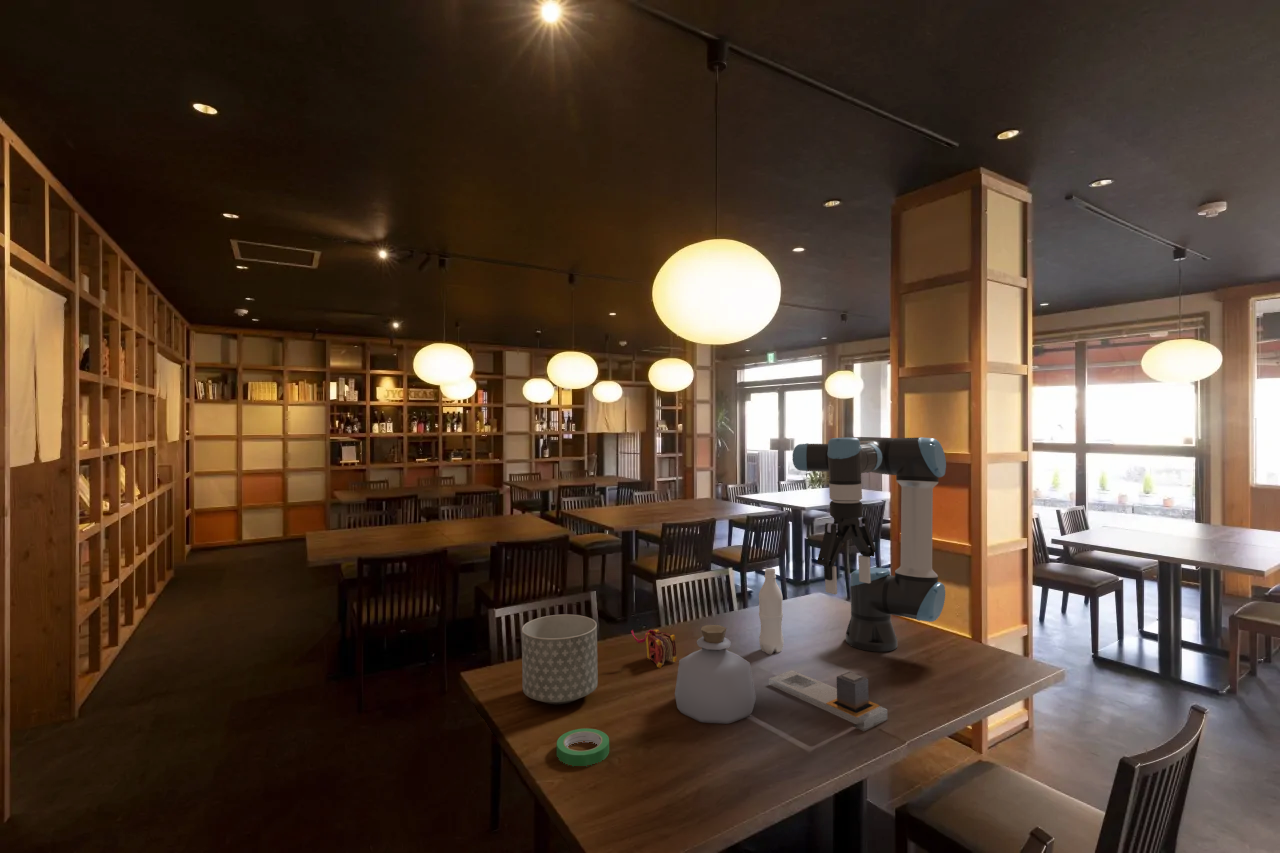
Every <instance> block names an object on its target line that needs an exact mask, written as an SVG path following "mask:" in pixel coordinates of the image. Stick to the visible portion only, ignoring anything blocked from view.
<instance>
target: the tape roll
mask: <svg viewBox="0 0 1280 853" xmlns="http://www.w3.org/2000/svg"><path fill="white" fill-rule="evenodd" d="M583 741H585V742H583ZM578 742H582V743H589V742H593V743H592V744H594V743H595V744H594V745H596V744H597V745H596V746H595V747H593V748H590V749H586V750H576V749H572V748H570V747H568V746H569V745H571V744H574V743H577V744H579V743H578ZM574 745H575V744H574ZM571 746H572V745H571ZM609 753H610V737H609V736H608V735H607V733H605V732H603V731H602V730H599V729H595V728H586V727H585V728H578V729H577V728H576V729H572V730H569V731H567V732H565V733H563V734H561V736H559V737H558V738H557V740H556V757H558V758H559V759H558V758H557V759H558V761H560V762H561V761H562V762H563V763H562V762H561V763H562V764H564V763H565V764H564V765H566V764H568V765H567V766H569V765H572V766H571V767H574V766H586V767H588V766H587V765H591V766H593V765H592V764H595V763H597V764H599V763H601V762H602V760H603V761H604V760H605V759H606V758H608V755H609ZM598 762H599V763H598ZM595 765H596V764H595Z"/></svg>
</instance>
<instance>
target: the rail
mask: <svg viewBox="0 0 1280 853" xmlns="http://www.w3.org/2000/svg"><path fill="white" fill-rule="evenodd" d="M768 685H769V686H770V687H773V688H776V689H778V690H780V691H781V692H784V693H786V694H788V695H791V696H792V697H795V698H797V699H799V700H802V701H804V702H806V703H808V704H810V705H813V706H815V707H817V708H819V709H822V710H824V711H826V712H827V713H830V714H832V715H834V716H837V717H838V718H841V719H843V720H845V721H848V722H850V723H851V724H854V725H853V726H852V727H854V728H856V729H858V730H860V731H862V732H865V731H868V730H870V729H872V728H874V727H876V726H878V725H880V724H882V723H884V722H885V721H887V720H888V709H887V708H885V707H884V706H880V704H878V703H875V702H873V701H871V700H869V708H867V709H865V710H862V711H860V712H858V713H855V712H852V711H850V710H848V709H845V708H843V707H841V706H839V705H837V687H834V686H832V685H829V684H827V683H824V682H822V681H820V680H817V679H815V678H814V677H813V678H812V677H810V676H807V675H805V674H802V673H800V672H797V671H795V670H793V669H791V670H788V671H785V672H783V673H781V674H777V675H775V676H772V677H769V678H768Z"/></svg>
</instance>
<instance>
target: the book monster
mask: <svg viewBox="0 0 1280 853" xmlns="http://www.w3.org/2000/svg"><path fill="white" fill-rule="evenodd" d="M630 632H631V635H632V636H633V637H634V640H635V641H636V642H637V643H638V644H640V643H641V644H642V643H644V642H645V644H646V655H647V656H646V657H647V658H649V659H651V660H650V661H653V663H654V664H656V667H657V668H659V669H661V668H662V666H664V664H665V662H669V661H672V662H673V663H674V662H675V663H676V662H677V660H678V659H677V658H678V657H677V648H676V634H670V633H668V632H666V631H665V632H664V631H660V630H659V629H649V630H648V631H647V632H645V636H644V638H641V639H638V638H637V637H636V636H635V633H634V629H632V630H630Z"/></svg>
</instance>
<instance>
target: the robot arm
mask: <svg viewBox="0 0 1280 853" xmlns="http://www.w3.org/2000/svg"><path fill="white" fill-rule="evenodd" d="M945 454H946V453H945V451H944V448H943V446H942V444H941V442H939V440H937V439H936V438H932V437H923V436H922V437H885V438H884V437H883V438H876V439H870V440H860V439H859V438H858V437H854V436H853V437H851V436H850V437H846V436H845V437H833V438H829V440H828V442H827V443H800V444H797V445H795V447H794V448H793V451H792V464H793V466H794V468H795V469H796V470H797V471H799V472H801V471H803V472H822V473H823V472H825V473H826V472H828V483H829V488H828V489H829V499H830V502H829V515H830V516H831V517H832V518H833V523H827V522H825V524H824V534H823V536H822V541H821V545H820V549H819V552H818V553H819V554H818V556H817V560H816V562H817V564H818V565H821V566H823V574H824V575H823V576H824V577H823V578H824V584H825V585H824V586H825V588H824V589H825V592H826V593H827V594H831V595H838V582H837V580H838V579H837V578H838V576H837V575H838V574H837V566H836V565H835V563H836V561H837V558H838V556H839V554H840V551H841V549H842V546H843V545H844V544H845V543H846V542H847V541H848V540H851V541H852V542H853V544H854V546H855V547H856V549H857V550H858V552H859V553H860V554H859V555H858V556H857V557H858V569H856V570H853V571H852V572H851V573H850V579H849V580H850V583H849V588H850V590H849V591H850V619H849V621H848V625H847V628H846V631H845V642H846V643H847V644H848V646H851V647H853V648H855V649H859V650H862V651H868V652H876V653H877V652H879V653H882V652H883V653H884V652H891V651H893V650H896V649H897V648H898V637H897V635H896V631H895V629H894V626H893V624H892V623H893V622H892V619H891V618H892V617H891V615H892V616H898V617H902V618H907V619H912V620H916V621H919V622H921V621H922V622H929V623H930V622H931V623H932V622H935V621H937V620H938V618H939V617H940V616H941V613H942V612H943V608H944V605H945V601H946V586H945V584H943V583H942V582H940V581H939V578H938V577H939V575H938V573H936V571H934V569H933V521H934V520H933V513H934V512H933V510H934V509H933V506H934V505H933V504H934V503H933V500H934V498H933V497H934V492H933V490H934V488H935V487H936V486H937V485H938V484H939V478H942V477H944V476H945V474H946V469H947V462H946V461H947V460H946V455H945ZM865 473H866V474H867V473H868V474H869V473H874V474H879V475H886V476H887V475H889V476H895V478H896V479H895V480H896V481H895V482H896V483H897V484H898V485H900V487H901V495H900V496H901V500H900V501H901V502H900V505H901V507H900V508H901V512H900V516H901V518H900V520H901V521H900V566H899V567H898V568H896V569H895V571H894V575H891V571H890V570H889V569H888V568H885V567H871V558H874V557H875V553H876V551H877V549H876V547H875V542H874V539H873V537H872V534H871V532H870V529H869V526H868V518H867V517H863V503H862V501H861V500H862V499H863V487H862V474H865Z"/></svg>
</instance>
